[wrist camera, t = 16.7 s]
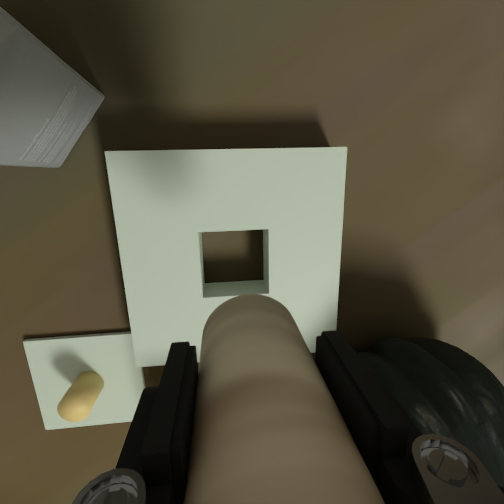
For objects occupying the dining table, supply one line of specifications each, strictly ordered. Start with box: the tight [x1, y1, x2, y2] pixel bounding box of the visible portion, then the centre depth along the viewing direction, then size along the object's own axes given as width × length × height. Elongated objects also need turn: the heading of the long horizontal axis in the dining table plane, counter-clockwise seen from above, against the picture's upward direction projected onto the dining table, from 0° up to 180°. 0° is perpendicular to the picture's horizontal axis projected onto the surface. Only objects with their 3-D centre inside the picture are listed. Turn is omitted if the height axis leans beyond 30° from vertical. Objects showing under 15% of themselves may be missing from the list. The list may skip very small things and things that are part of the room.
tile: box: [23, 331, 145, 430], centre depth 25 cm, size 9×9×3 cm
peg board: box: [105, 147, 347, 368], centre depth 23 cm, size 16×16×3 cm
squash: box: [357, 337, 504, 488], centre depth 24 cm, size 14×15×15 cm
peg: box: [183, 294, 385, 504], centre depth 8 cm, size 4×4×10 cm
